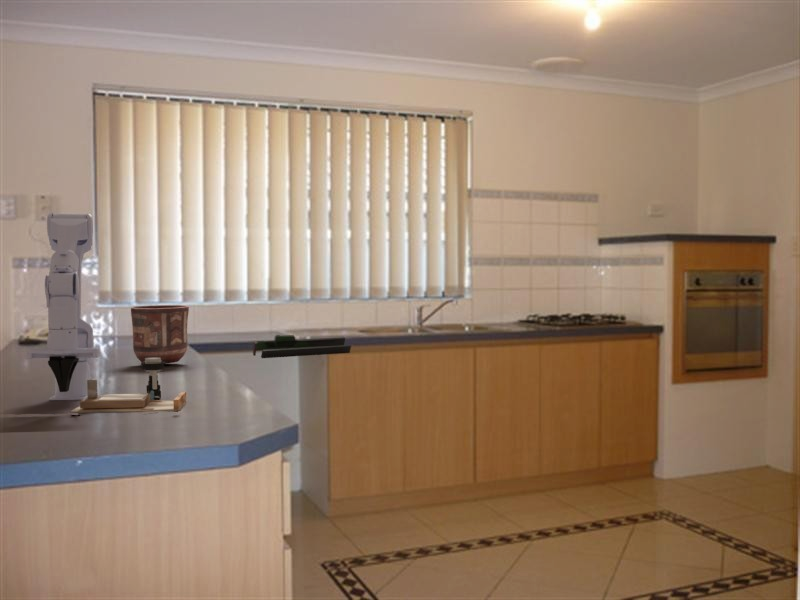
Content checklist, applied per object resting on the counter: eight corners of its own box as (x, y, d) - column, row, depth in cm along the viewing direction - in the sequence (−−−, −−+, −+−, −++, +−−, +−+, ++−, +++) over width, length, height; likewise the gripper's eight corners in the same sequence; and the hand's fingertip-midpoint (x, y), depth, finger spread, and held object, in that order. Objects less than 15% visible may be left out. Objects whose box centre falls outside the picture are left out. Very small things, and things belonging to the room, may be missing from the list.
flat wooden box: (85, 406, 176) (85, 393, 176) (186, 404, 179) (186, 391, 179) (70, 416, 165) (70, 401, 165) (178, 413, 168) (178, 399, 168)
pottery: (172, 365, 246) (171, 308, 245) (121, 364, 249) (120, 307, 249) (198, 359, 263) (197, 305, 262) (150, 357, 267) (149, 304, 266)
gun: (351, 359, 281) (355, 340, 278) (257, 365, 264) (260, 345, 261) (344, 349, 286) (348, 331, 283) (251, 355, 269) (254, 335, 266)
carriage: (90, 401, 175) (90, 377, 175) (150, 400, 176) (150, 376, 176) (80, 408, 167) (79, 382, 167) (143, 407, 168) (143, 381, 168)
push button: (169, 402, 181) (168, 359, 181) (145, 404, 179) (144, 360, 178) (162, 398, 187) (162, 356, 187) (139, 400, 184) (138, 357, 184)
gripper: (20, 330, 165) (22, 394, 165) (93, 329, 166) (94, 393, 167) (32, 327, 172) (33, 389, 172) (101, 327, 173) (102, 388, 174)
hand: (64, 391), depth 170 cm, fingers closed
